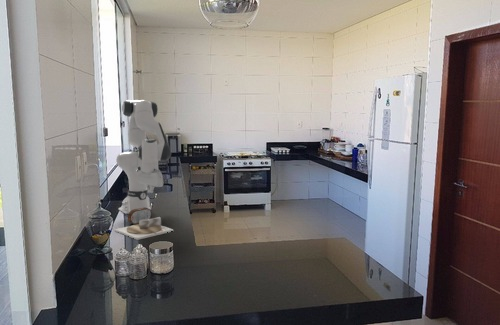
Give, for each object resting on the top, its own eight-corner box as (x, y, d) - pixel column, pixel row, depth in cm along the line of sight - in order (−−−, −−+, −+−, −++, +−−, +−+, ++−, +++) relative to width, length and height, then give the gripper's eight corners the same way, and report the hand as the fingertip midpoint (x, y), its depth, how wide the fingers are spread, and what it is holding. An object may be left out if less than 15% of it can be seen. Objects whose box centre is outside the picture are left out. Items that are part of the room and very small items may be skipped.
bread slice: (149, 219, 233) (149, 206, 232) (152, 220, 231) (152, 206, 230) (127, 224, 222) (127, 210, 221) (130, 225, 220) (130, 211, 219)
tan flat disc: (138, 236, 196) (138, 227, 196) (120, 229, 209) (120, 220, 208) (169, 228, 210) (169, 220, 210) (150, 222, 223) (150, 214, 222)
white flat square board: (114, 231, 209) (114, 228, 209) (150, 223, 225) (150, 221, 225) (137, 240, 194) (136, 237, 194) (173, 231, 210) (173, 229, 210)
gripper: (165, 169, 211) (166, 194, 212) (145, 166, 225) (145, 189, 226) (156, 170, 206) (156, 196, 208) (135, 167, 220) (135, 191, 222)
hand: (150, 192), depth 217 cm, fingers closed
